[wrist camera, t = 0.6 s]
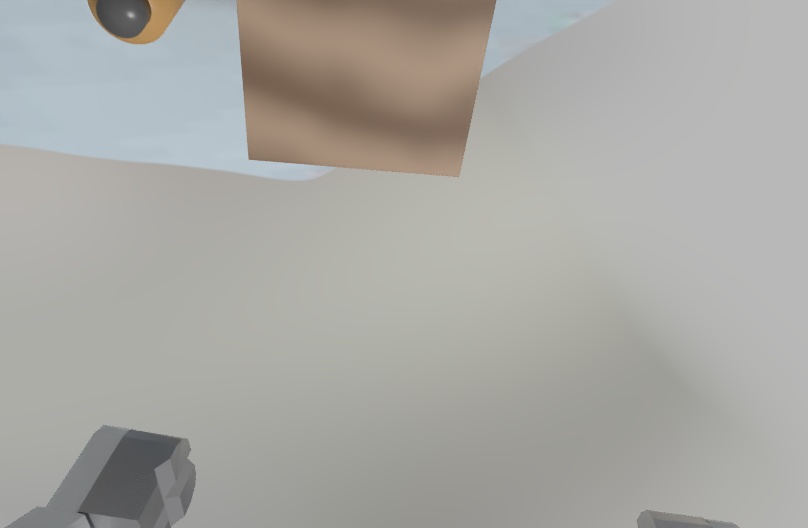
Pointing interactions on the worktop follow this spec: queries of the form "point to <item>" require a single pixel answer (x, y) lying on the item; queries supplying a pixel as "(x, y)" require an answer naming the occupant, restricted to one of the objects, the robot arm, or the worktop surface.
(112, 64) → the worktop surface
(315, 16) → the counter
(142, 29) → the amber bottle
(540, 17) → the worktop surface
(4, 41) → the worktop surface
